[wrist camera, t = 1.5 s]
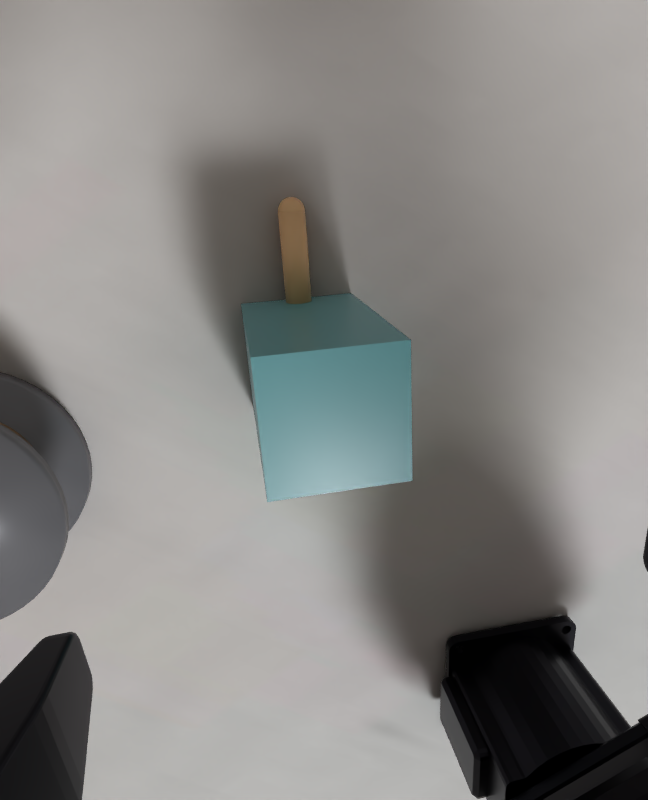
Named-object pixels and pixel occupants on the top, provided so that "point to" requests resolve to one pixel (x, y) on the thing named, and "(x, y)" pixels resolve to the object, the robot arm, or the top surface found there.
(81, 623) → the top surface
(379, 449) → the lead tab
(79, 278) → the top surface
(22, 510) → the spool
